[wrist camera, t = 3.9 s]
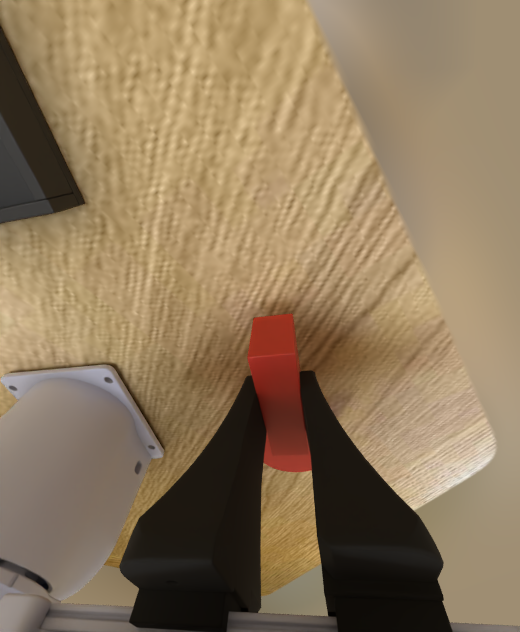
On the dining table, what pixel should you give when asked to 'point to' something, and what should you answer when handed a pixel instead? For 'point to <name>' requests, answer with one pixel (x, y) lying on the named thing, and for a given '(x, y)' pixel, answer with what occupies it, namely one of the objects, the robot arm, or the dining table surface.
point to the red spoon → (279, 392)
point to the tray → (28, 152)
